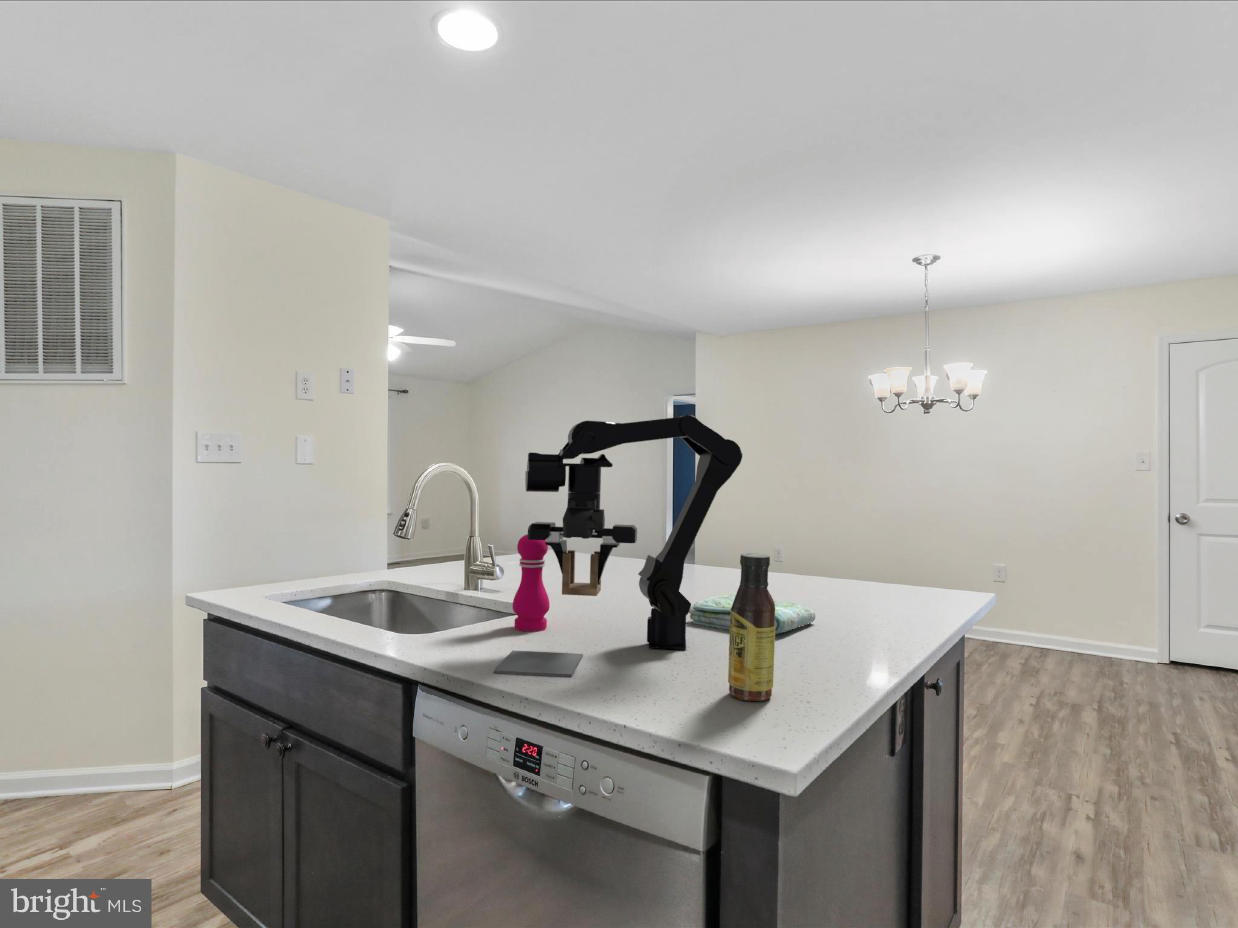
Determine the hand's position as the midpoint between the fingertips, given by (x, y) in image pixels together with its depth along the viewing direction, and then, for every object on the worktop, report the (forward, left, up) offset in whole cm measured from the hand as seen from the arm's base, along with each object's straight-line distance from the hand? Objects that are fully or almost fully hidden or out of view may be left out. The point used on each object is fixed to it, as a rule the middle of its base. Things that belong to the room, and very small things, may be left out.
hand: (581, 581), depth 122 cm
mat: (+5, +11, -12) cm, 17 cm away
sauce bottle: (-27, +22, -12) cm, 37 cm away
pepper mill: (+12, -14, -12) cm, 21 cm away
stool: (0, 0, -2) cm, 2 cm away
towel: (-32, -27, -12) cm, 44 cm away
